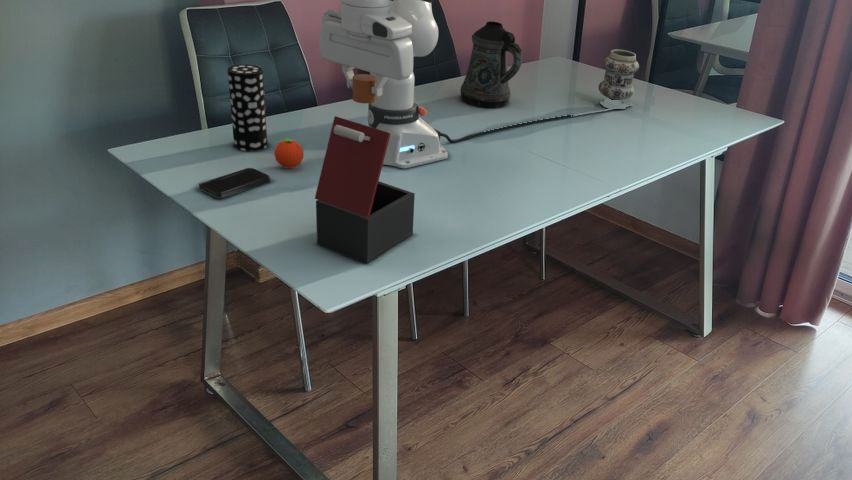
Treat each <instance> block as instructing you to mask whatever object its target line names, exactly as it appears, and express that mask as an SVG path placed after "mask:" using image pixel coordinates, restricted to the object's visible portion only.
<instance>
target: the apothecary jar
mask: <svg viewBox="0 0 852 480" xmlns="http://www.w3.org/2000/svg"><path fill="white" fill-rule="evenodd" d="M602 64H603V66H604V68H605V73H604V77H603V80H602V81H601V82H600V83H599V84H598V91H599V93H600V94H601V95H602V96H604V97H606V98H607V99H608V98H609V99H611V100H620V101H623V100H627V99H630V98H632V96H634V94H635V89H634V87H633V81H634V76H635V73H637V72H638V70H639V69H640V64H639V62H638V61H637V54H636V53H635V52H632V51H629V50H625V49H619V48H617V49H612V50H610V53H609V55H608V56H606V57H605V59H604V60H603V63H602Z"/></svg>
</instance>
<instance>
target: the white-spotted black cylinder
mask: <svg viewBox="0 0 852 480" xmlns="http://www.w3.org/2000/svg"><path fill="white" fill-rule="evenodd" d="M227 78H228V91H229V102H230V113H231V115H230V116H231V126H232V136H233V147H234V148H235V149H236V150H239V151H243V152H258V151H259V152H260V151H262V150H264V149H266V148H268V132H267V131H268V129H267V120H266V119H267V118H266V117H267V115H266V101H265V83H264V69H263V67H261V66H259V65H255V64H246V63H245V64H244V63H243V64H234V65H229V66H228V67H227Z"/></svg>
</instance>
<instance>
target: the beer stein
mask: <svg viewBox="0 0 852 480" xmlns="http://www.w3.org/2000/svg"><path fill="white" fill-rule="evenodd" d="M471 41H472V48H471V49H472V50H471V54H470V59H469V63H468V67H467V70H466V75H465V77H464V80H463V82H462V84H461V86H460V98H461V102H463V103H465V104H467V105H469V106H472V107H475V108H480V109H499V108H504V107H506V106H508V104H509V102H510V99H511V94H512V93H511V89H510V84H509V81H511V79H513V78H514V77H515V76H516V75H517V73H518V72H519V71H520V69H521V66H522V65H523V57H524V56H523V53H522V49H521V47H520V45H519V44H518V43H516V37H515V35H514V33H512V32H510V31H507V30H506V29H505V28H504V26H503V24H502V23H501V22H497V21H487V22H486V24H485V25H484V26H482V27H481V28H479V29H477V30H476V31H474V33H473V34H472V35H471ZM508 53H510V54H511V55H512V58H513V63H512V65H511V67H510V68H509V67H508V66H509V65H508V64H509V61H508V59H509V58H508ZM508 68H509V69H508Z"/></svg>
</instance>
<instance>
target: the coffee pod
mask: <svg viewBox="0 0 852 480" xmlns="http://www.w3.org/2000/svg"><path fill="white" fill-rule="evenodd" d="M376 83H377V79H375V76H373V75H370V73H369V74H367V73H358V74H354V76H353V89H352V100H353V102H355V103H359V104H369V103H374V102H376V96H374V95H371V86H375V85H376Z"/></svg>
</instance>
